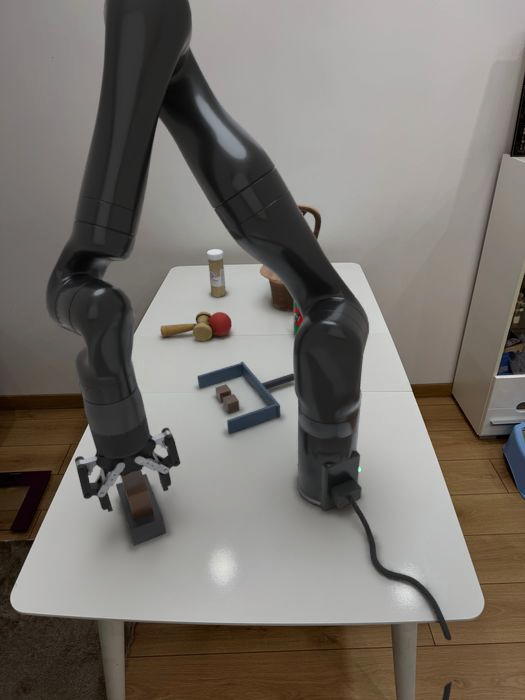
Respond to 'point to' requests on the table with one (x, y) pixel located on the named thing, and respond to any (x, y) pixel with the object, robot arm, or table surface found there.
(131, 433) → the robot arm
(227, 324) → the kendama
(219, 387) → the crumb
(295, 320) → the soda can
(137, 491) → the eraser
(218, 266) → the sprinkles bottle
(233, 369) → the frame
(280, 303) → the pitcher
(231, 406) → the crumb
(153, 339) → the table surface
